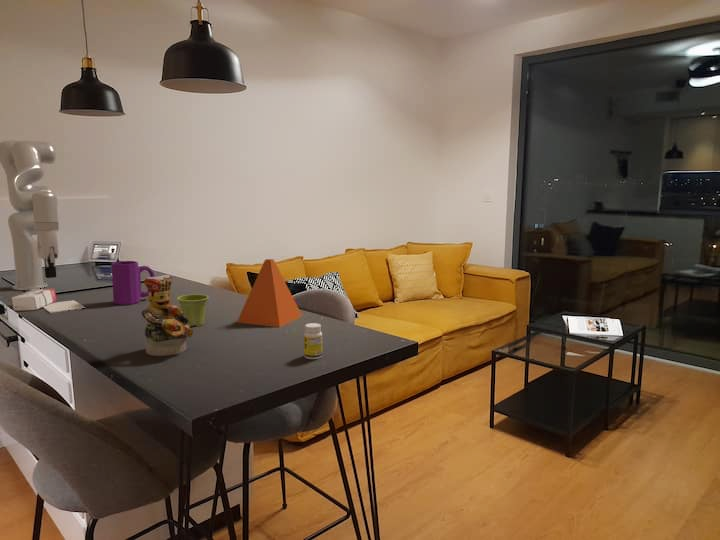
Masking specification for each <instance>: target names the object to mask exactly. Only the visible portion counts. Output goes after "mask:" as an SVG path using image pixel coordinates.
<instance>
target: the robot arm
mask: <svg viewBox="0 0 720 540" xmlns="http://www.w3.org/2000/svg"><path fill="white" fill-rule="evenodd" d="M56 159H57V154H56V150H55V147H54V145H53V144H52V143H51V142H47V141H39V140H38V141H37V140H36V141H35V140H2V141H0V164H1V167H2V168H3V169H4V172H5V175H6V181H7V191H8V198H9V201H10V205H11V206H12V208H13V209H14V210H15V211H16V212H13V213H12V214H10V215H9V216H8V219H7V223H8V228H9V231H10V236H11V240H12V241H11V243H12V250H13V259H14V267H15V268H14V270H15V271H14V272H15V280H16V284H14V285H12V290H15V291H30V290H32V289H40V288H41V289H45V288H47V287H48V286H49V285H48V283H47V282H44V278H45V279H51V278H53V279H54V278H57V267H56V260H57V259H58V258H59V244H58V236H57V232H60V226H59V216H58V215H59V213H58V198H57V195H56V194H55V192H54V191H53V189H52V188H51V187H49V186H47V185H35V184H34V183H37V182H38V181H40V180H41V179H42V178H43V177H44V175H45V170H44V168H43V164H48V165H49V164H50V165H51V164H54V163H55V161H56ZM33 236H36V239H35V238H34V237H33ZM42 260H43V263H44V274H43V265H42ZM43 275H45V277H44V276H43ZM44 287H45V288H44Z"/></svg>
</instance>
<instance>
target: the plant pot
mask: <svg viewBox="0 0 720 540" xmlns="http://www.w3.org/2000/svg"><path fill="white" fill-rule="evenodd" d="M208 299H209V296H208V295H206V294H202V293H201V294H198V293H197V294H196V293H195V294H185V295H180V296H178V297H177V299H176V300H177V301H178V304H179V306H180V307H179V308H180V309H181V311H182V313H183V314H184V315H185V316H186V317H187V318H188V319H189V321H188V323H189V324H190V327H194V326H196V327H197V326H202V325H204V323H205V315H206V305H207V303H208Z"/></svg>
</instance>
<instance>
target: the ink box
mask: <svg viewBox="0 0 720 540" xmlns="http://www.w3.org/2000/svg"><path fill="white" fill-rule="evenodd" d="M57 300H58V299H57V296H56V291H55V288H54V287H52V288H41V289H32V290H26V291H25V292H23V293H20V294H18V295H15V296H13V297H10V303H11V307H12V310H13V311H24V312H26V311H36V310H39V309H41V308H43V306H46V305H48V304H50V303H55V302H56V301H57Z"/></svg>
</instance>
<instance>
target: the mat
mask: <svg viewBox="0 0 720 540" xmlns="http://www.w3.org/2000/svg"><path fill="white" fill-rule="evenodd" d="M42 308H43V310H46V311H47V312H48V313H49V314H53V313H61V312H62V311H63V312H69V311H68V310H70V311H76V310H75V309H77V310H82V308H85V309H86V307H85V306H84V305H82V304H81V303H79V302H78V301H76V300H73V299H72V300H66V301H65V300H64V301H58V302H56V301H55V302H52V303H50V304H48V305H46V306H43V307H42Z"/></svg>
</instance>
